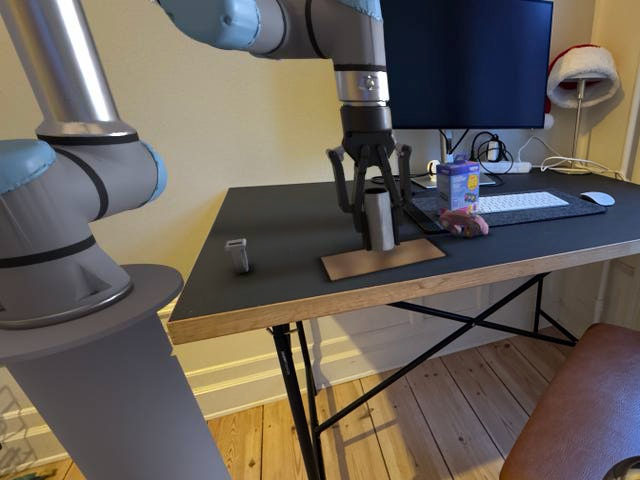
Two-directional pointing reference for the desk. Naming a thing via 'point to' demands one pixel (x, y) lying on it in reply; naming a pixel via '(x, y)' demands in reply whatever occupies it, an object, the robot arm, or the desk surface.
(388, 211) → the planter
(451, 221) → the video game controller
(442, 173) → the ink cartridge box
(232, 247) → the wristwatch
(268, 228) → the desk surface
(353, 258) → the cork mat
